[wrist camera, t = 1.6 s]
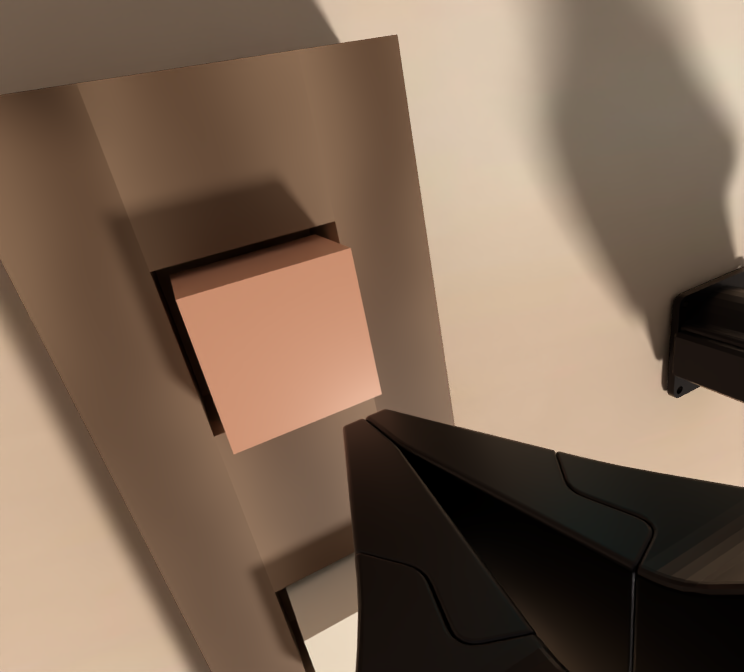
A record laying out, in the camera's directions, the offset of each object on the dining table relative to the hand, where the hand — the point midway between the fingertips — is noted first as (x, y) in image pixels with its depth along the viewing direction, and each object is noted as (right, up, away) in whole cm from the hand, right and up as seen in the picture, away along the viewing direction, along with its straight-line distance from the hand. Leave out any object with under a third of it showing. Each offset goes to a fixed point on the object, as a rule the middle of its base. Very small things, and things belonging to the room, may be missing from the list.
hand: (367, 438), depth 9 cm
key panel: (-3, -2, +11) cm, 12 cm away
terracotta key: (-3, +2, +7) cm, 8 cm away
